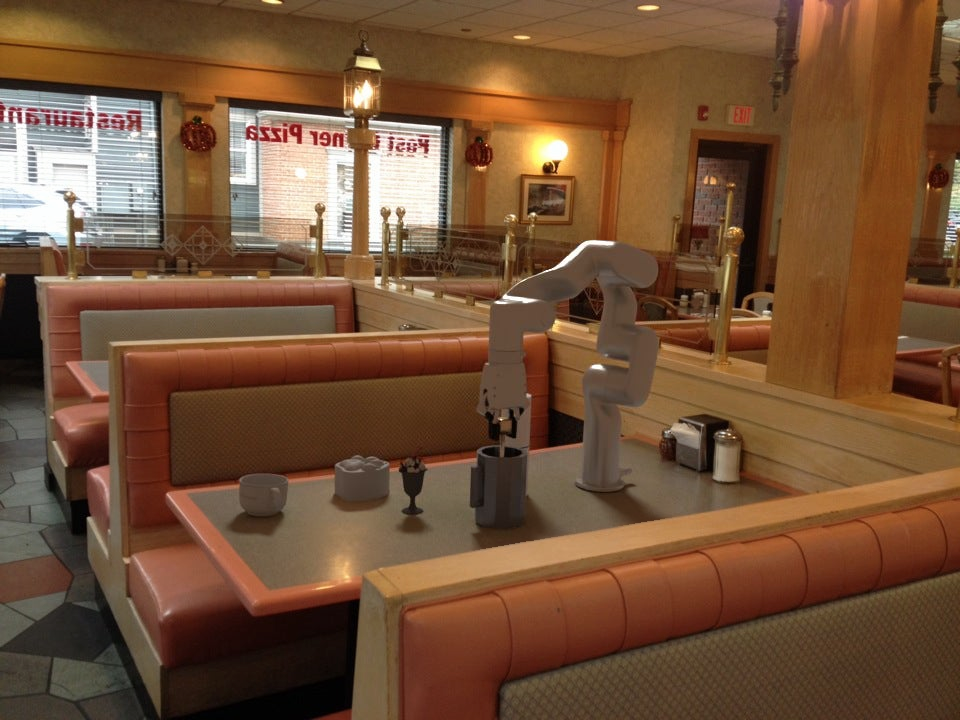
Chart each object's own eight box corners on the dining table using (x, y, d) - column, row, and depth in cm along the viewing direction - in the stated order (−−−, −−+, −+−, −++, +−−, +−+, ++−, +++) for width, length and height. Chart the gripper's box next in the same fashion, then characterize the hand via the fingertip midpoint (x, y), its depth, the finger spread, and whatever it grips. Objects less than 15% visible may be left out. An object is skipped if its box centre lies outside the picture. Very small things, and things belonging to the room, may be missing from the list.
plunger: (503, 503, 202) (507, 414, 198) (523, 513, 196) (527, 421, 192) (476, 509, 197) (479, 417, 194) (495, 519, 191) (499, 424, 188)
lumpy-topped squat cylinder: (330, 491, 214) (330, 456, 213) (379, 484, 221) (379, 451, 219) (346, 503, 205) (347, 468, 204) (397, 496, 212) (397, 461, 210)
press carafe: (505, 509, 204) (507, 443, 202) (533, 523, 195) (536, 454, 193) (457, 518, 197) (459, 450, 194) (484, 534, 188) (487, 462, 185)
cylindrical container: (525, 499, 212) (529, 399, 208) (496, 496, 213) (499, 396, 209) (529, 490, 219) (533, 393, 215) (501, 488, 220) (504, 391, 216)
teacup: (236, 507, 200) (235, 473, 199) (283, 502, 204) (283, 469, 203) (245, 527, 188) (245, 492, 186) (295, 522, 192) (295, 487, 191)
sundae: (431, 508, 203) (432, 446, 201) (420, 517, 197) (421, 453, 195) (405, 504, 205) (406, 443, 203) (393, 513, 199) (394, 450, 197)
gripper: (525, 352, 198) (522, 430, 201) (464, 357, 189) (461, 439, 192) (546, 357, 192) (542, 438, 195) (483, 362, 183) (480, 447, 186)
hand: (502, 437), depth 194 cm, fingers closed on plunger, 4 cm apart
